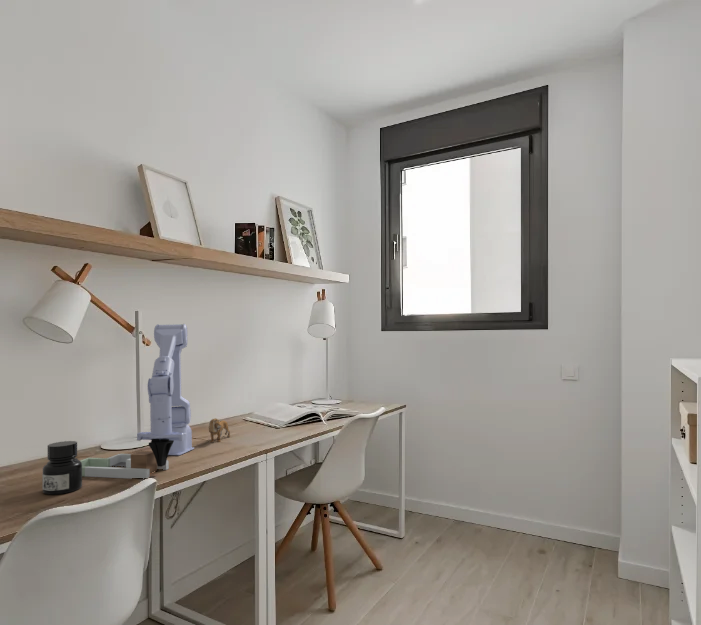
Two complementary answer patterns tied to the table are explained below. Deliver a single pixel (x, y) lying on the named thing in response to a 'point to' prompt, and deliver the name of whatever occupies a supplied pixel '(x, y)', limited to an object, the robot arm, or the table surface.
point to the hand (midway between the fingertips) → (161, 465)
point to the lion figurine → (218, 429)
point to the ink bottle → (62, 469)
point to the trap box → (103, 469)
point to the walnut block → (144, 460)
